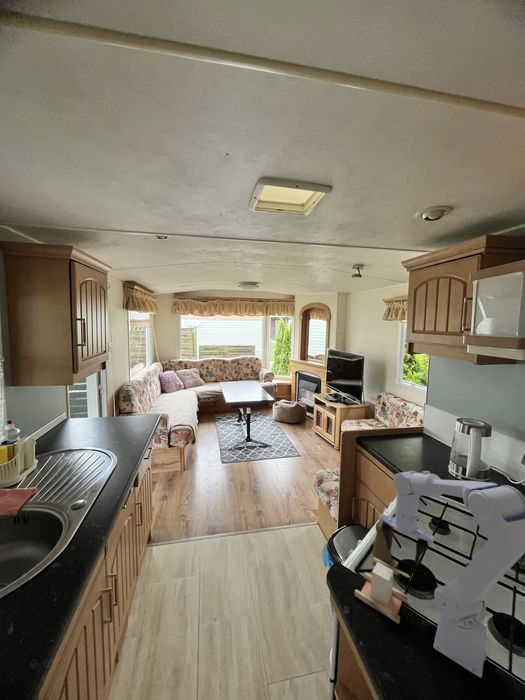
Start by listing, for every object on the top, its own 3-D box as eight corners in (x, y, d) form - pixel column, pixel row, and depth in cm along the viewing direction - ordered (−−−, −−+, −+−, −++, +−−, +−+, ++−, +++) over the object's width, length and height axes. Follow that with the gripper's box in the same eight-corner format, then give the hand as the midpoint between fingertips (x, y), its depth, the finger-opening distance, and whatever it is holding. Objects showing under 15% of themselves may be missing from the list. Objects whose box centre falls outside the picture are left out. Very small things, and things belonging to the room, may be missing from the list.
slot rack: (413, 582, 89) (414, 577, 89) (398, 623, 77) (399, 618, 77) (374, 561, 97) (374, 557, 97) (354, 595, 84) (354, 590, 84)
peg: (391, 596, 84) (393, 570, 84) (386, 607, 81) (388, 580, 80) (375, 587, 87) (377, 561, 86) (370, 597, 84) (372, 571, 83)
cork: (386, 547, 103) (388, 518, 102) (394, 561, 97) (397, 530, 96) (369, 547, 103) (371, 518, 102) (376, 561, 97) (379, 530, 96)
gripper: (436, 516, 85) (432, 559, 86) (385, 496, 94) (382, 535, 96) (432, 528, 80) (428, 574, 81) (377, 506, 89) (374, 548, 90)
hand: (402, 554), depth 88 cm, fingers open, 7 cm apart
